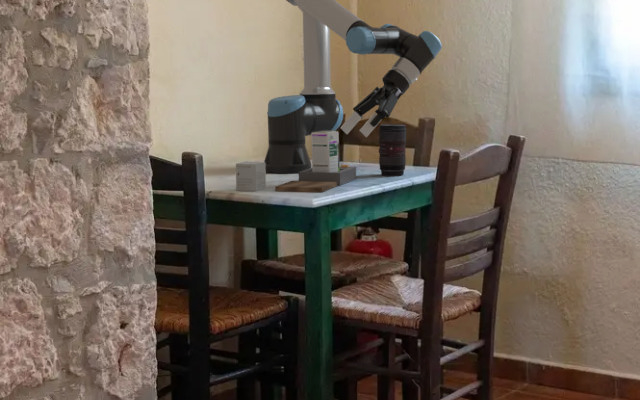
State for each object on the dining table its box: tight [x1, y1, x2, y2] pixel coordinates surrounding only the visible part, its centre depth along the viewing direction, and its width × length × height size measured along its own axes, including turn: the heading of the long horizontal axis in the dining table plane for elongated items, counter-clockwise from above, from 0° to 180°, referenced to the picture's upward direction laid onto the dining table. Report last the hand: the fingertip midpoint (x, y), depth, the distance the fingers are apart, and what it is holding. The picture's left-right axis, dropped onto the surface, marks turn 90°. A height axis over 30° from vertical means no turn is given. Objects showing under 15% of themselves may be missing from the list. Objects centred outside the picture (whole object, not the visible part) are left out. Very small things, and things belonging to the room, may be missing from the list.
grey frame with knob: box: [298, 164, 357, 187], centre depth 267 cm, size 12×16×4 cm
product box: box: [235, 161, 267, 192], centre depth 251 cm, size 6×6×7 cm
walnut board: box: [274, 180, 338, 193], centre depth 252 cm, size 13×13×1 cm
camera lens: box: [378, 124, 407, 177], centre depth 280 cm, size 8×8×15 cm
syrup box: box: [310, 130, 340, 172], centre depth 264 cm, size 6×6×14 cm
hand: (353, 132), depth 265 cm, fingers open, 13 cm apart
